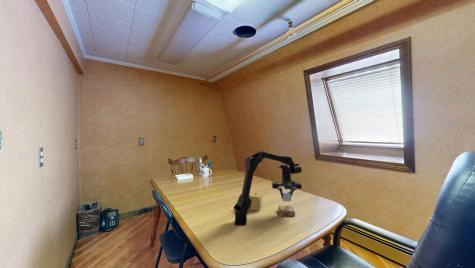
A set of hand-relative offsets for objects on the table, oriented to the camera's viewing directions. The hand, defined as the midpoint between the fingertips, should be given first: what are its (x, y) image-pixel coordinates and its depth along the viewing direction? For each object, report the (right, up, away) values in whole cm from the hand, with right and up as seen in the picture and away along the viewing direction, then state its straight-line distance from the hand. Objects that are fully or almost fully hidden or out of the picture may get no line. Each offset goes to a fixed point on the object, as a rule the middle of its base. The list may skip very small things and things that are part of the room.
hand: (286, 198), depth 127 cm
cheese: (-20, -10, +10) cm, 25 cm away
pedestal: (0, -10, 0) cm, 10 cm away
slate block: (0, -1, 0) cm, 1 cm away
